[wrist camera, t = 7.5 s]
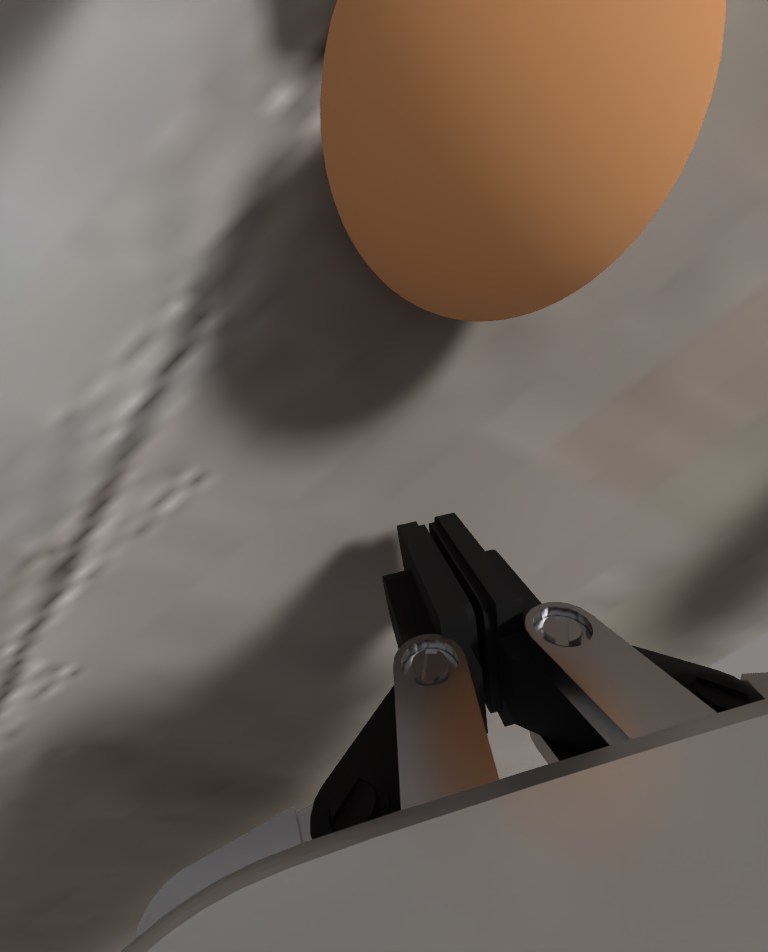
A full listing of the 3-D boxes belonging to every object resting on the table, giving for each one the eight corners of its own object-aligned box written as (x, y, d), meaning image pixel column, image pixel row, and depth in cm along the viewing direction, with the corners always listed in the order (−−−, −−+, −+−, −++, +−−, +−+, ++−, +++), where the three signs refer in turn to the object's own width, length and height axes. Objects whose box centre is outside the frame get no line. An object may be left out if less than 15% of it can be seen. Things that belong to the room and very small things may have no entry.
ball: (294, -386, 4) (297, 187, 10) (426, -190, 2) (337, 391, 8) (706, -209, 6) (509, 200, 11) (1001, 1, 4) (588, 374, 9)
